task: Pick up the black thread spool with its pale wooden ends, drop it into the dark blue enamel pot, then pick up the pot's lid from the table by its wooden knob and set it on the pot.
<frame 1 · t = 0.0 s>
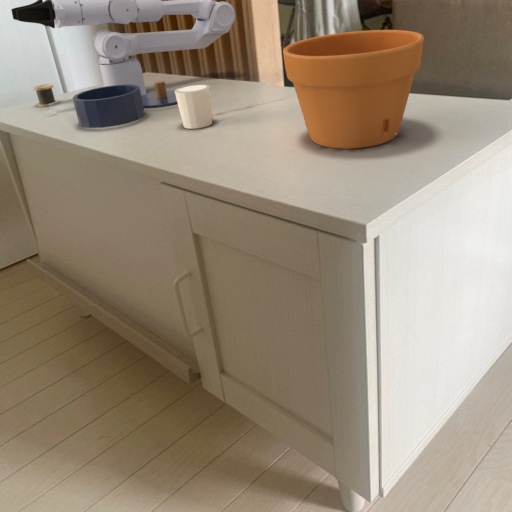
hand: (14, 14, 116), 22 cm above the table, tool horizontal, fingers open, 7 cm apart
pot lid: (162, 99, 125), point 1 cm above the table
flower pot: (352, 136, 89), on the table
spool: (48, 104, 137), on the table
pot: (113, 120, 115), on the table
white cup: (198, 125, 105), on the table
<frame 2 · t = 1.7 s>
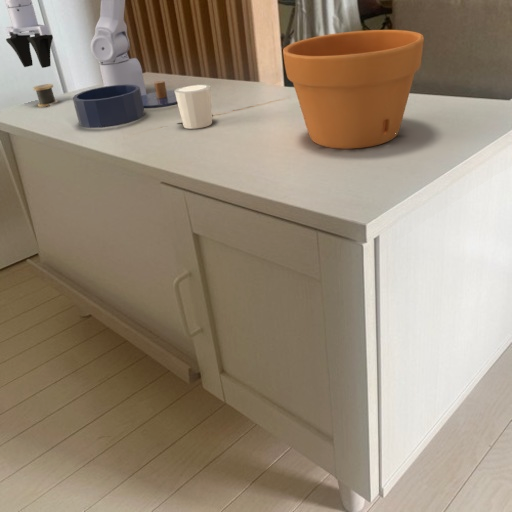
hand: (37, 66, 133), 9 cm above the table, tool pointing down, fingers open, 7 cm apart
nothing on the table moved.
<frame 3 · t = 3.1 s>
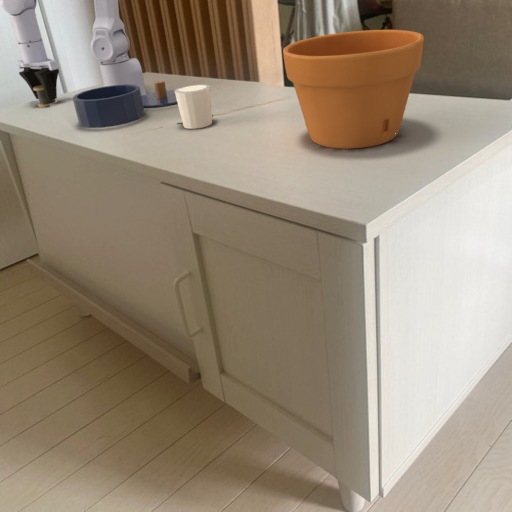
hand: (46, 98, 136), 1 cm above the table, tool pointing down, fingers closed on spool, 4 cm apart
spool: (48, 104, 137), on the table, touching gripper
everything else where it was.
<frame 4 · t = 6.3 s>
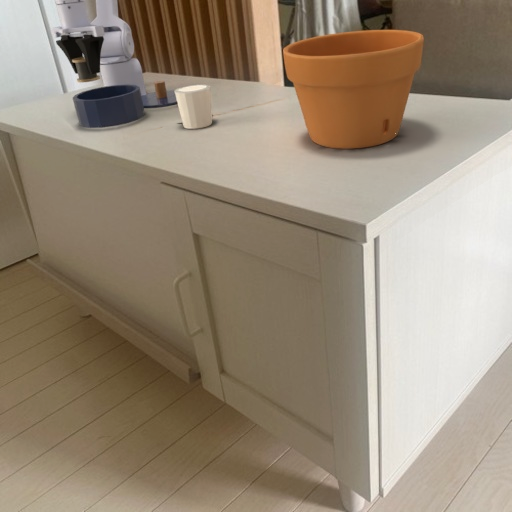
hand: (87, 73, 114), 9 cm above the table, tool pointing down, fingers closed on spool, 4 cm apart
spool: (88, 79, 115), point 8 cm above the table, touching gripper
everything else where it was.
when the fingers open (2 cm above the table, at t = 9.3 s): spool stays where it is, resting on pot.
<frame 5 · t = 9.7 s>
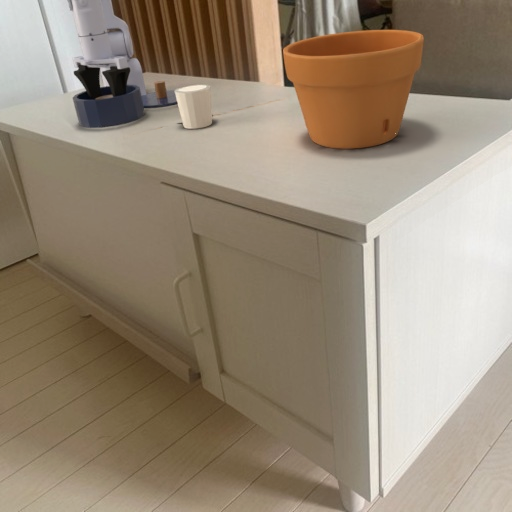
hand: (109, 103, 113), 4 cm above the table, tool pointing down, fingers open, 7 cm apart
spool: (112, 118, 115), resting on pot
everything else where it was.
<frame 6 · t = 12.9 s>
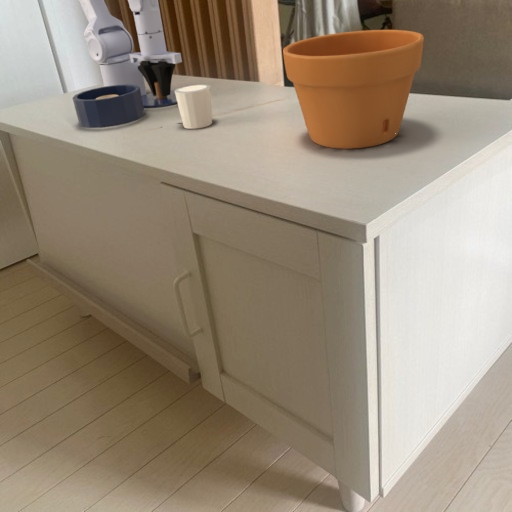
hand: (161, 95, 125), 2 cm above the table, tool pointing down, fingers closed on pot lid, 2 cm apart
pot lid: (162, 99, 125), point 1 cm above the table, touching gripper
everything else where it was.
when the fingers open (7 cm above the table, at t = 16.4 s): pot lid stays where it is, resting on pot.
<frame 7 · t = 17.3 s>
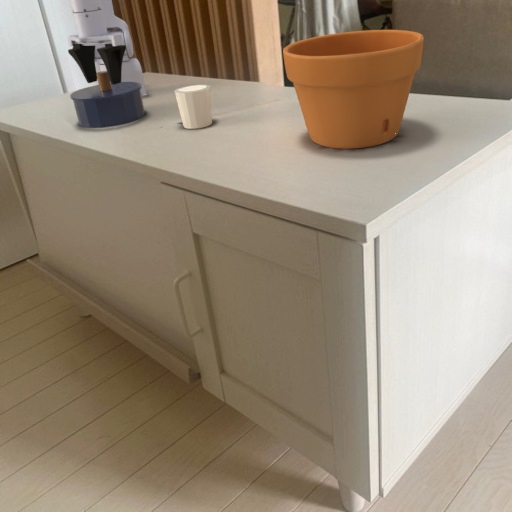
hand: (104, 82, 111), 8 cm above the table, tool pointing down, fingers open, 7 cm apart
pot lid: (106, 92, 112), point 6 cm above the table, touching pot
everything else where it was.
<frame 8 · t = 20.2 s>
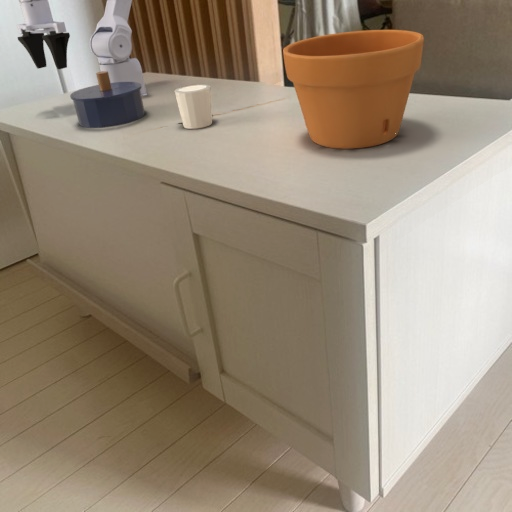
hand: (51, 68, 120), 10 cm above the table, tool pointing down, fingers open, 7 cm apart
nothing on the table moved.
at the end: spool inside the target area in the pot (0.1 cm from its centre), point 0.5 cm above the pot's base; pot lid 0.0 cm off-centre on the pot, point 6.0 cm above the pot's base; pot lid tilted 0° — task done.
